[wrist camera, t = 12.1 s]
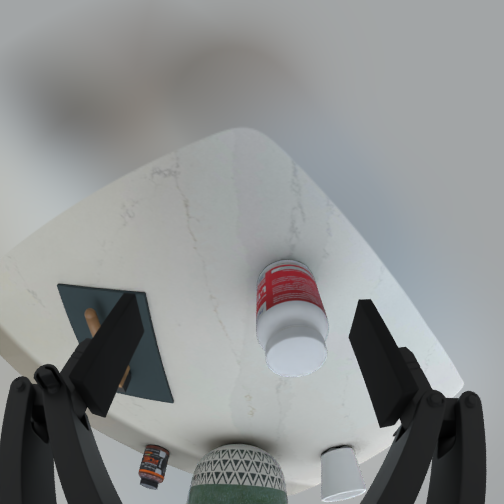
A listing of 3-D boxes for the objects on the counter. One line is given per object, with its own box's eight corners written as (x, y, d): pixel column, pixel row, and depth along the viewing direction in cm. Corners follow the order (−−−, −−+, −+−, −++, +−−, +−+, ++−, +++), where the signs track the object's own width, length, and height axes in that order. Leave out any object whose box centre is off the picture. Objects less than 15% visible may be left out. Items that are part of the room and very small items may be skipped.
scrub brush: (88, 296, 31) (73, 314, 27) (107, 299, 30) (92, 318, 27) (116, 372, 37) (108, 390, 33) (133, 375, 37) (125, 395, 33)
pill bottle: (254, 260, 28) (251, 332, 18) (313, 255, 28) (340, 323, 18) (259, 309, 31) (259, 386, 21) (313, 304, 30) (333, 378, 20)
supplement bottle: (161, 444, 48) (152, 484, 38) (174, 454, 51) (166, 492, 40) (141, 443, 49) (130, 480, 39) (154, 453, 52) (145, 489, 41)
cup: (366, 442, 47) (376, 487, 36) (340, 459, 51) (347, 500, 39) (332, 441, 46) (340, 491, 34) (307, 458, 49) (312, 503, 38)
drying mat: (58, 283, 31) (56, 285, 30) (145, 292, 30) (144, 294, 30) (102, 386, 40) (101, 388, 39) (173, 401, 40) (173, 403, 39)
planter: (244, 468, 53) (241, 539, 33) (177, 443, 47) (162, 525, 28) (305, 446, 46) (313, 533, 27) (235, 419, 41) (227, 530, 22)
